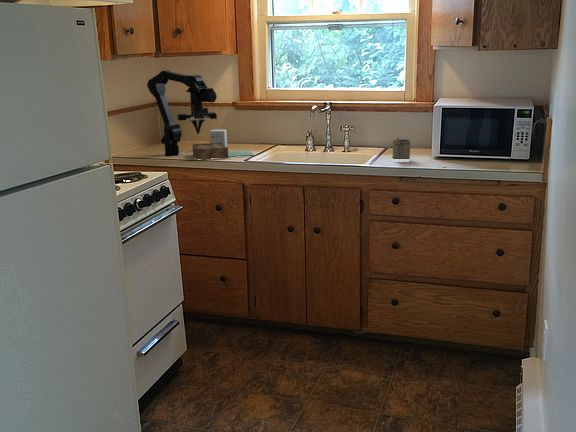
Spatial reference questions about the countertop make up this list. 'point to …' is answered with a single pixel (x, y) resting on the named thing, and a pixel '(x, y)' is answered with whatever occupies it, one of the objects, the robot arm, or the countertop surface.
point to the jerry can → (401, 149)
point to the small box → (218, 137)
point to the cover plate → (239, 153)
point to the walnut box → (210, 151)
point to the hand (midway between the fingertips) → (197, 133)
